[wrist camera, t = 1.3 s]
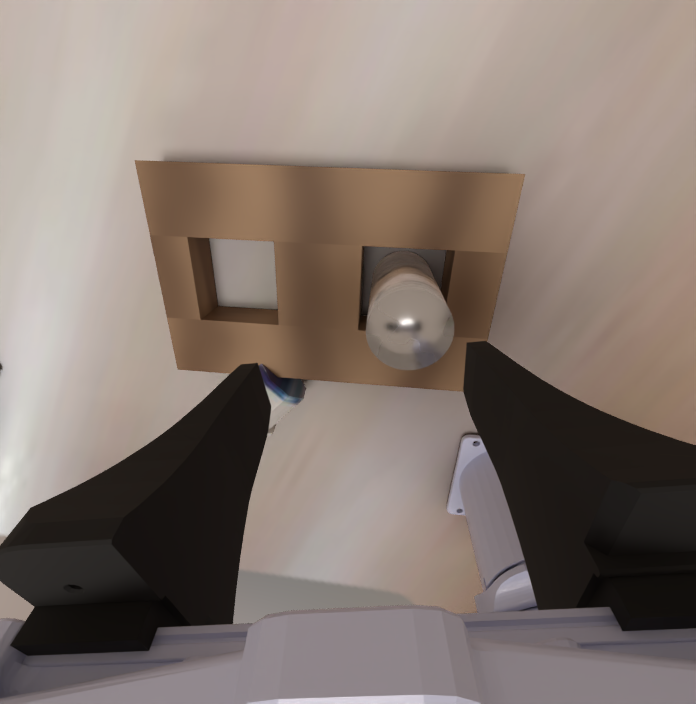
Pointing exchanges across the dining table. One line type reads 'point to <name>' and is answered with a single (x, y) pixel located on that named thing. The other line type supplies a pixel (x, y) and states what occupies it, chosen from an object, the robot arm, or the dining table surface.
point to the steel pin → (407, 313)
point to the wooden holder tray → (322, 261)
